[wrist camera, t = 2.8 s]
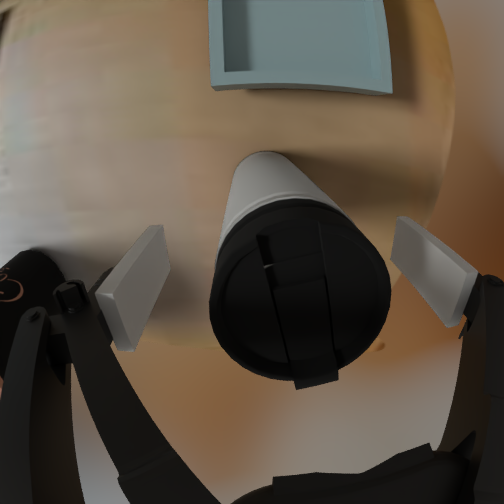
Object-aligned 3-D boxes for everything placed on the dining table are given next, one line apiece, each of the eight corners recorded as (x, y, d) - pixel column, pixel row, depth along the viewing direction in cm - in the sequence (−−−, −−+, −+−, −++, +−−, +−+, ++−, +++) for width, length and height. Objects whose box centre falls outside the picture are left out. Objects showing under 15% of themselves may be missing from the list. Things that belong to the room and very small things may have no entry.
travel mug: (242, 223, 28) (239, 402, 10) (225, 159, 25) (172, 262, 7) (304, 209, 27) (392, 367, 9) (290, 144, 24) (403, 209, 7)
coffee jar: (60, 246, 28) (-31, 340, 12) (80, 315, 33) (23, 414, 17) (10, 245, 28) (-70, 318, 12) (31, 306, 33) (-27, 386, 17)
